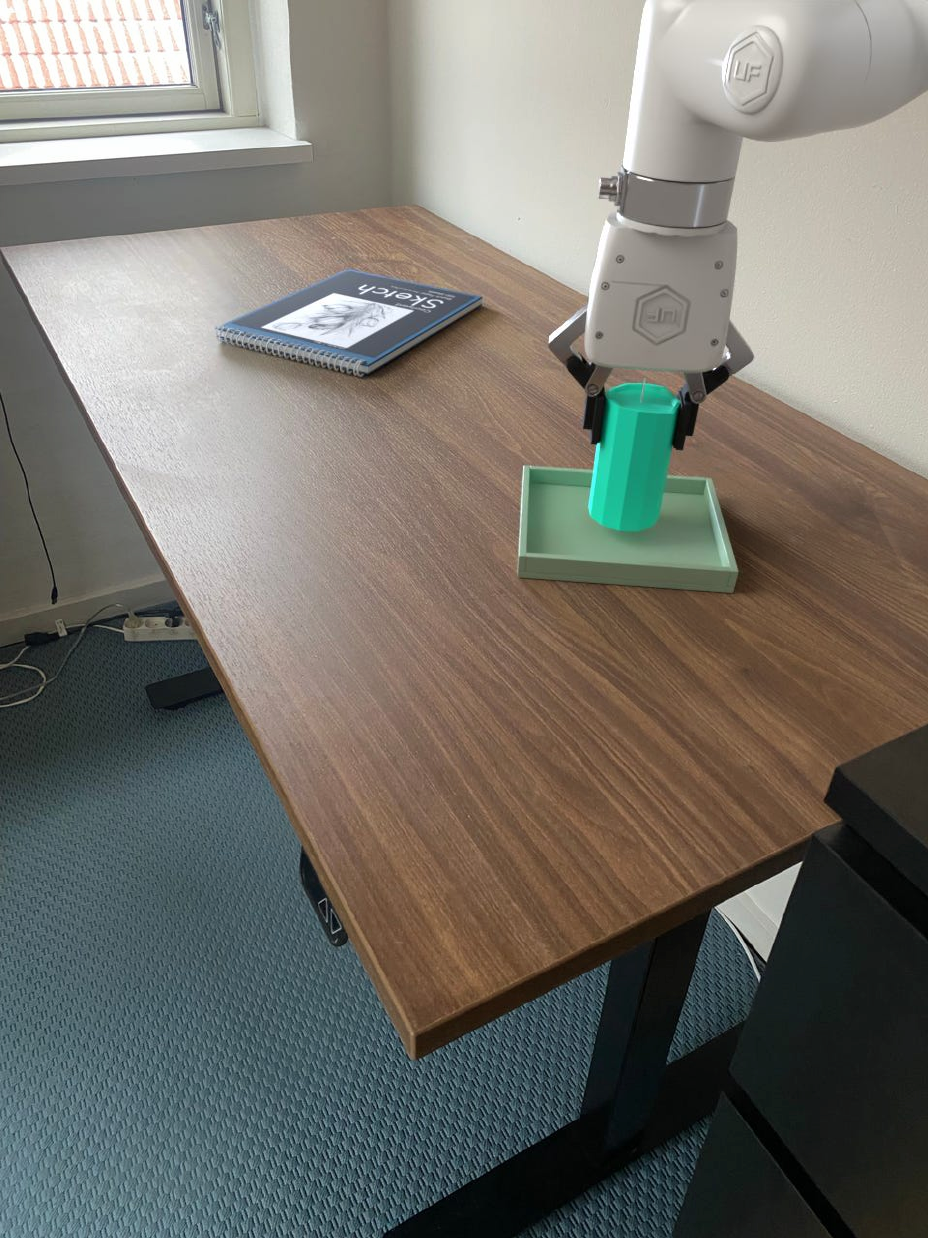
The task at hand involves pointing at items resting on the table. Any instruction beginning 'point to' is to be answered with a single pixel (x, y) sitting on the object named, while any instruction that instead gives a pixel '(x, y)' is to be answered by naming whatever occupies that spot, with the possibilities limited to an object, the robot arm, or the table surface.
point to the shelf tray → (623, 536)
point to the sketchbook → (350, 321)
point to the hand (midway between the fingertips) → (635, 437)
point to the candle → (633, 456)
